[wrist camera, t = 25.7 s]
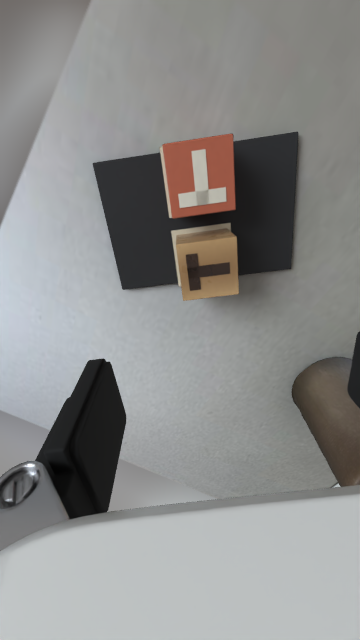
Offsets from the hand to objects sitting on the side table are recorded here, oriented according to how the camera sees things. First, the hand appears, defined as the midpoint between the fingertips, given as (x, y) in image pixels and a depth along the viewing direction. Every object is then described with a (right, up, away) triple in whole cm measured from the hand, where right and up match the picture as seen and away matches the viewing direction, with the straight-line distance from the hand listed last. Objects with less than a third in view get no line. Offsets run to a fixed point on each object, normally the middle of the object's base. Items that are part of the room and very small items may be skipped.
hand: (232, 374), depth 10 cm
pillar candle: (+18, -7, +26) cm, 32 cm away
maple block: (0, +9, +17) cm, 19 cm away
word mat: (0, +12, +16) cm, 20 cm away
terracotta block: (0, +15, +14) cm, 20 cm away
